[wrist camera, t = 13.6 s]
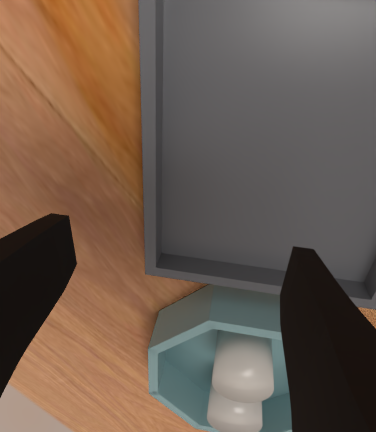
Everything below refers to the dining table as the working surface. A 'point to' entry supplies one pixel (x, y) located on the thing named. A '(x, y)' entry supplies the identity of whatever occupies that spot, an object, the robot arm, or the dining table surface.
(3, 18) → the dining table surface
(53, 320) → the dining table surface
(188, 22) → the parts tray
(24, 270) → the robot arm
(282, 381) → the bowl
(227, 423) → the pebble
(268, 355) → the pebble
